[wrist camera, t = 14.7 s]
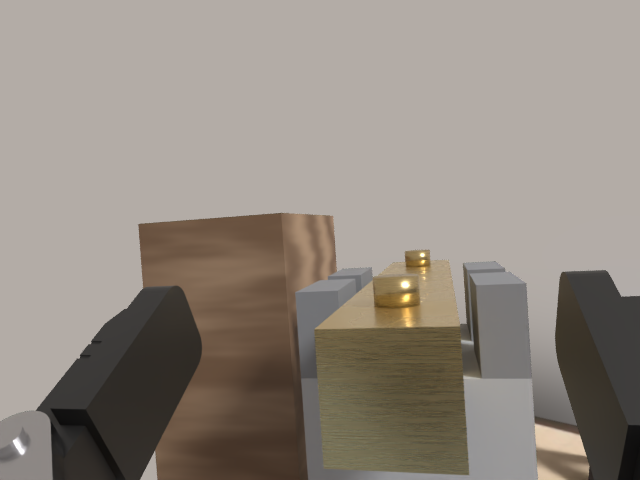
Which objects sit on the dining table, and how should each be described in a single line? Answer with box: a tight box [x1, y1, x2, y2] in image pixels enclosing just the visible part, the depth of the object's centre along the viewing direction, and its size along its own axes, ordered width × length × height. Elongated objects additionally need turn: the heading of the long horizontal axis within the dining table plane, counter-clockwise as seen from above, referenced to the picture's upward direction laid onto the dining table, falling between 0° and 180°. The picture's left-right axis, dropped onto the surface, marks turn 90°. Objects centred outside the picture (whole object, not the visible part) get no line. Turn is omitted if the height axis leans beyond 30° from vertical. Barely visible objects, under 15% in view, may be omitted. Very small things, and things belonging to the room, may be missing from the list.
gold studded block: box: [314, 250, 469, 475], centre depth 26 cm, size 24×4×5 cm, turn 167°
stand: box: [139, 213, 337, 480], centre depth 41 cm, size 16×10×32 cm, turn 167°
